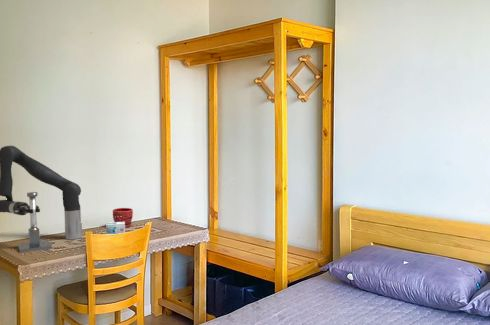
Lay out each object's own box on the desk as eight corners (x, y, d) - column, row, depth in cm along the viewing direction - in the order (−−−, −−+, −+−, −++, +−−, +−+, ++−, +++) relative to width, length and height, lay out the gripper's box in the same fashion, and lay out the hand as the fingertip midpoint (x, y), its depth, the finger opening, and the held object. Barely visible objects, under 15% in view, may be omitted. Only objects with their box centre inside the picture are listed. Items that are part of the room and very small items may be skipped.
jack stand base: (47, 242, 270) (47, 224, 269) (51, 248, 256) (51, 229, 255) (17, 246, 262) (16, 228, 261) (20, 252, 248) (19, 233, 247)
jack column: (38, 233, 262) (36, 191, 260) (39, 235, 258) (37, 192, 256) (28, 234, 259) (26, 192, 258) (29, 236, 255) (27, 193, 253)
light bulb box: (106, 243, 267) (105, 224, 267) (106, 240, 274) (106, 222, 273) (125, 241, 270) (124, 223, 270) (125, 239, 277) (124, 221, 276)
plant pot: (109, 228, 308) (108, 210, 307) (120, 224, 321) (119, 207, 320) (126, 229, 304) (126, 211, 303) (136, 225, 317) (136, 208, 316)
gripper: (6, 203, 260) (23, 206, 250) (30, 200, 271) (47, 202, 261) (7, 216, 260) (24, 219, 250) (30, 212, 272) (47, 215, 262)
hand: (35, 210), depth 256 cm, fingers closed on jack column, 3 cm apart
